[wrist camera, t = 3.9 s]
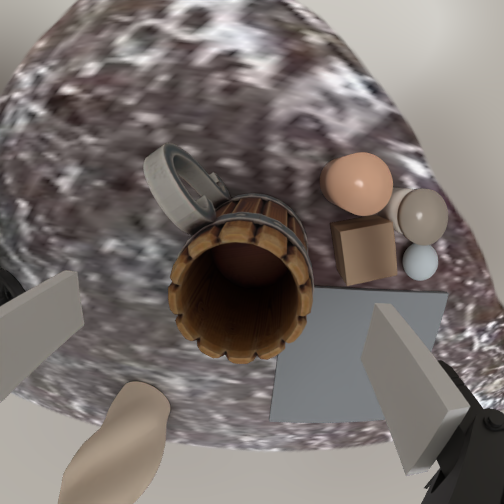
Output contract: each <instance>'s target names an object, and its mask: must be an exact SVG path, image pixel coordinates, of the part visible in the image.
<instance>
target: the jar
mask: <svg viewBox="0 0 504 504" xmlns="http://www.w3.org/2000/svg"><path fill="white" fill-rule="evenodd" d="M377 214H378V216H380V217H382V218H385V219H387V220H389V221H392V222H393V227H394V230H395V231H397V232H399V233H401V234H403V235H404V236H405V237H406V238H407V239H408V240H410V241H412V242H413V243H415V244H418V245H422V246H426V245H430V244H433V243H434V242H436V241H437V240H438V239H439V238H440V237H441V236H442V235H443V233H444V231H445V229H446V226H447V222H448V210H447V206H446V204H445V202H444V200H443V198H442V197H441V196H440V195H439V194H438V193H437V192H435V191H433V190H429V189H421V188H420V189H414V190H413V189H405V188H397V187H393V190H392V195H391V197H390V200H389V202H388V203H387V205H386V206H385V207H384V208H383V209H382V210H380V211H379V212H377Z"/></svg>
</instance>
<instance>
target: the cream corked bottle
mask: <svg viewBox="0 0 504 504" xmlns="http://www.w3.org/2000/svg"><path fill="white" fill-rule="evenodd" d="M169 413H170V404H169V401H168V399H167V398H166V397H165V396H164V394H163V393H161V392H160V391H159V390H158V389H156V388H155V387H153V386H151V385H149V384H146V383H143V382H137V381H134V382H129V383H127V384H125V385H124V386H123V388H122V389H121V390H120V392H119V393H118V395H117V396H116V398H115V399H114V401H113V403H112V404H111V406H110V408H109V410H108V413H107V416H106V419H105V420H104V422H103V424H102V426H101V428H100V429H99V430H98V431H97V432H95V433H94V434H93V435H92V436H91V437H90V438H89V439H88V440H86V441H85V443H84V444H83V445H82V446H81V447H80V449H79V450H78V451H77V453H76V454H75V455H74V457H73V458H72V460H71V462H70V463H69V465H68V466H67V468H66V470H65V472H64V474H63V478H62V484H61V490H60V494H59V499H58V504H133V503H134V502H135V501H136V500H137V499H138V498H139V497H140V496H141V495H142V494H143V493H144V492H145V490H146V489H147V487H148V486H149V485H150V483H151V481H152V480H153V478H154V476H155V474H156V472H157V470H158V468H159V466H160V463H161V459H162V456H163V452H164V448H165V441H166V424H167V419H168V416H169Z"/></svg>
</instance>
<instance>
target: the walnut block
mask: <svg viewBox="0 0 504 504" xmlns="http://www.w3.org/2000/svg"><path fill="white" fill-rule="evenodd" d="M330 226H331V233H332V239H333V246H334V253H335V260H336V267H337V271H338V272H339V274H340V275H341V277H342V279H343V280H344V282H345V283H346V285H347V286H349V285H354V284H359V283H364V282H368V281H373V280H377V279H382V278H386V277H391V276H395V275H397V262H396V248H395V237H394V227H393V222H392V221H389V220H387V219H385V218H382V217H380V216H378V215H371V216H365V217H360V218H354V219H349V220H343V221H338V222H332V223H330Z"/></svg>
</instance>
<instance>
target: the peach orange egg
mask: <svg viewBox="0 0 504 504" xmlns="http://www.w3.org/2000/svg"><path fill="white" fill-rule="evenodd" d="M320 188H321V191H322V193H323V195H324V196H325V198H326V199H327V200H328V201H329V202H331V203H332V204H334V205H336V206H338V207H340V208H342V209H345V210H347V211H349V212H351V213H353V214H356V215H360V216H369V215H373V214H375V213H377V212H379V211H380V210H382V209H383V208H384V207H385V206H386V205H387V203H388V202H389V200H390V197H391V195H392V190H393V180H392V176H391V173H390V171H389V168H388V167H387V165H386V164H385V163H384V162H383V161H382V160H381V159H380V158H378V157H377V156H375V155H373V154H370V153H364V152H361V153H354V154H351V155H347V156H343V157H340V158H336V159H333V160H332V161H330V162H329V163H327V164H326V166H325V167H324V168H323V170H322V172H321V175H320Z"/></svg>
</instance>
